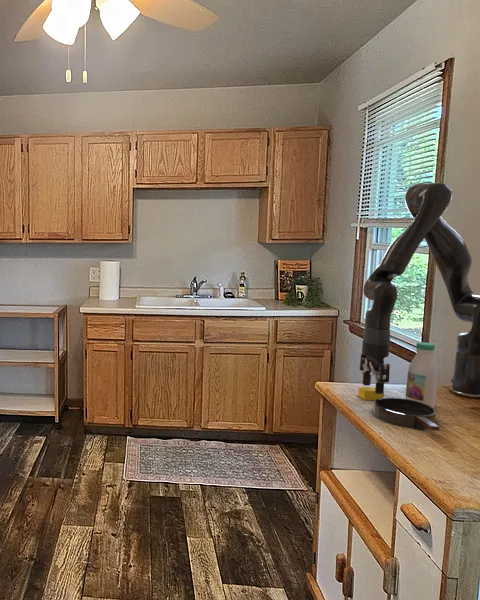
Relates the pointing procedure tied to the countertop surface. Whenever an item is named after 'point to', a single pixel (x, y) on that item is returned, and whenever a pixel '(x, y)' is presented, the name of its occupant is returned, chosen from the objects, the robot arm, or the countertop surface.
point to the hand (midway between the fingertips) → (372, 389)
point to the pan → (402, 411)
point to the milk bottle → (422, 375)
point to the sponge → (369, 393)
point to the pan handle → (425, 424)
